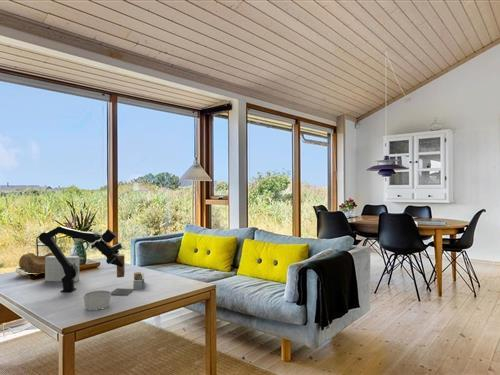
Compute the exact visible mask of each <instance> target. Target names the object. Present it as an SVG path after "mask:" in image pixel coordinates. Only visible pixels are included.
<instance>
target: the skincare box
mask: <svg viewBox="0 0 500 375" xmlns="http://www.w3.org/2000/svg"><path fill="white" fill-rule="evenodd" d="M65 257H66V258H67V260H68V261H69V262H70V263H71V264H73V263H75V265H76V266H77V267H78V274H77V275H76V277H75V278H74V283H76V282H77V281H79V280H80V256H79V255H78V256H76V255H75V256H74V255H72V256H71V255H65ZM64 276H65V273H64V270H63V267H62V265H61V264H60V263H59V261H58V260H57V259H56V257H55V256H48V257H45V273H44V281H45V282H62V280H61V279H62V278H63V277H64Z"/></svg>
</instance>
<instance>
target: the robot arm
mask: <svg viewBox="0 0 500 375" xmlns="http://www.w3.org/2000/svg"><path fill="white" fill-rule="evenodd" d="M59 234H61V235H66V236H70V237H75V238H78V239H81V240H83V241H84V242H87V243H89V244H91V245H90V246H91V250H94V248H95V249H97V250H98V251H99V252H100V253H101V255H103V256H104V257H106V261H105V262H106V264H108V265H114V266H116V267H117V266H120V267H123V265H122V263H121V262H120V261H119V260H118V256H117V255H118V254H120V250H121V249H123V246H122V243H121V242H118V241H116V242H115V243H114V245H112V246H111V245H109V244H110V243H111V242H112V241H113V240H115V238H116V237H117V234H116V233H115V232H114V231H112V230H111V229H109V228H108V229H106V231H105V232H104V233H103V234H99V233H96V232H94V231H93V232H92V231H82V230H77V229H73V228H69V227H67V226H66V227H65V226H64V225H58V226H56V227H55V228H53V229H51V230H46V231H44V232H41V233H40V234H39V236H38V239H39V242H41V244H43V245H44V246H45V247H47V248H48V249H49V250H50V252H52V253H53V254H54V256H55V257H56V259H57V260H58V261H59V263H60V264H61V265H62V267H63V270H64V273H65V276H64V277H63V278H62V279H61V280H62V281H61V282H62V290H60V291H59V292H60V293H72V292H74V291H75V290H77V288H76V287H75V282H74V278H75V277H76V275H77V274H78V267H77V266H76V265H75V263H73V264H71V263H70V262H69V261H68V260H67V258H66V257H65V256H66V255H65V254H64V253H63V251H62V250H61V248H60V247H59V245H58V244H57V242H56V240H55V239H56V238H55V237H54V236H56V235H59ZM108 243H109V244H108Z"/></svg>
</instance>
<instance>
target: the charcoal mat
mask: <svg viewBox="0 0 500 375" xmlns="http://www.w3.org/2000/svg"><path fill="white" fill-rule="evenodd" d="M133 290H134V291H135V290H136V289H134V288H121V287H120V288H119V287H117V288H115V289H113V291H110V292H111V296H123V295H127V296H129V295H130V294H131V293H132V291H133ZM134 291H133V292H134ZM129 293H130V294H129ZM128 294H129V295H128Z"/></svg>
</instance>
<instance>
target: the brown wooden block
mask: <svg viewBox="0 0 500 375" xmlns="http://www.w3.org/2000/svg"><path fill="white" fill-rule="evenodd" d="M117 254H118V253H117ZM117 256H118V260H119V261H120V262H121V263H122V265H123V267H120V266H117V265H116V278H124V277H125V274H126V273H125V261H126V260H125V259H126V257H125V253H122V254H121V253H119V254H118V255H117Z"/></svg>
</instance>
